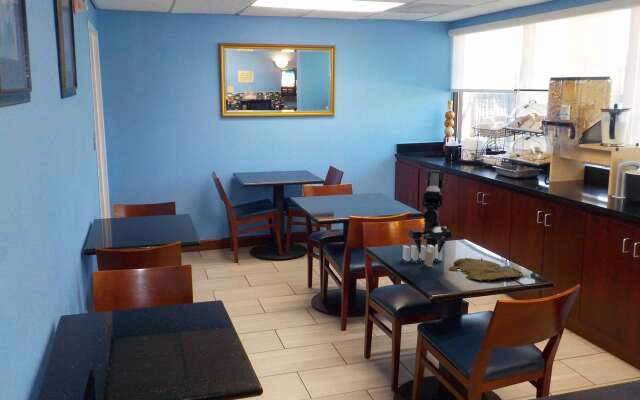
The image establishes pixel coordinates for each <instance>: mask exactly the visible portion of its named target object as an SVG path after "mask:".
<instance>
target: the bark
mask: <svg viewBox="0 0 640 400" xmlns="http://www.w3.org/2000/svg"><path fill="white" fill-rule="evenodd" d="M452 264H453V265H452V266H450V267H448V269H449V270H451V271H454V272H455V271H456V272H458V270H457V269H461V270H462V271H465V272H462V271H461V274H463V275H464V274H465V275H466V276H465V278H466V279H468V280H473V279H474V280H478V281H487V282H490V281H493V280H494V281H495V280H497V279H502V278H503V279H507V280H508V279H509V278H513V277H516V278H517V277H521V278H522V276H524V274H523V272H522V271H520V270H518V269H515V268H514V267H511V266H510V265H503V266H502V265H501V264H499V263H497V262H494V261H490V260H485V259H483V258H481V257H480V259H479V258H476V259H475V258H472V257H471V258H469V257H468V258H467V257H465V258H459V259H457V260H455V261H453V263H452Z"/></svg>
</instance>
